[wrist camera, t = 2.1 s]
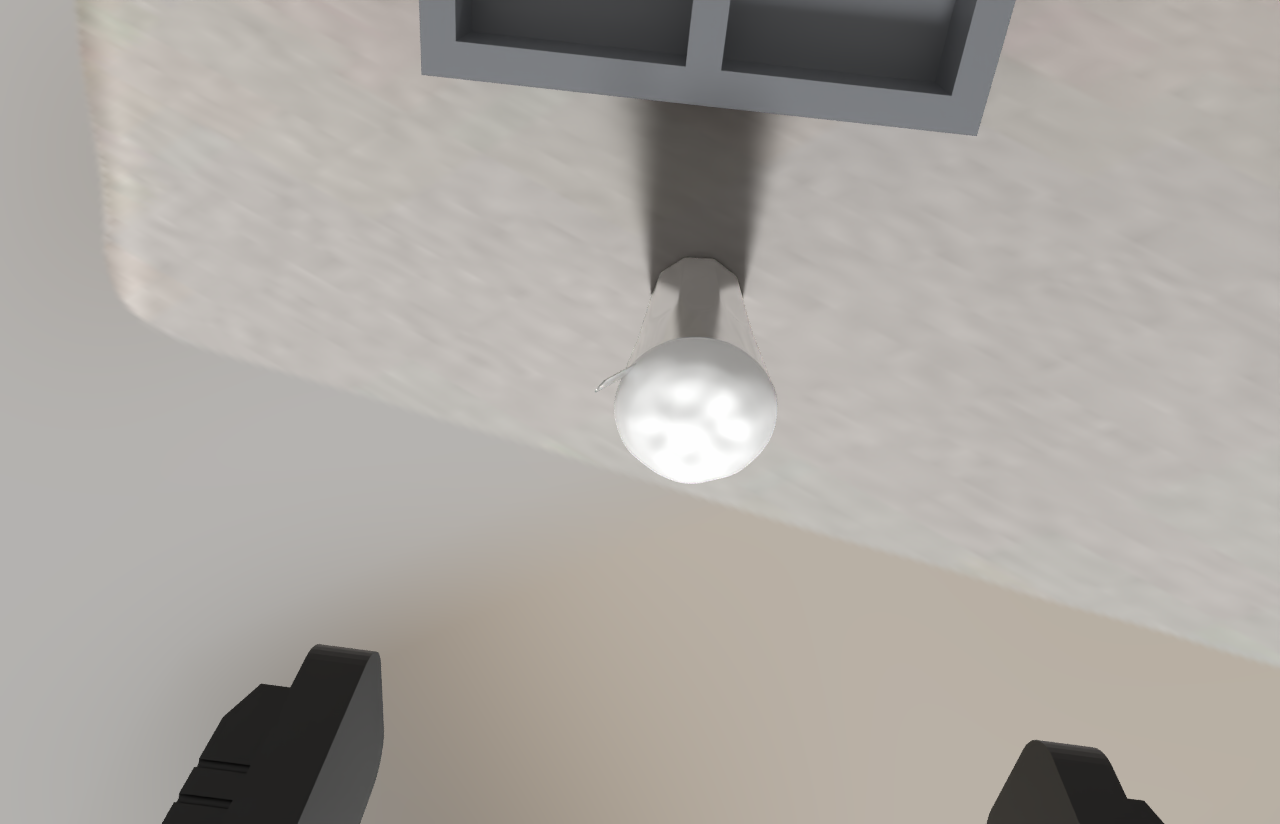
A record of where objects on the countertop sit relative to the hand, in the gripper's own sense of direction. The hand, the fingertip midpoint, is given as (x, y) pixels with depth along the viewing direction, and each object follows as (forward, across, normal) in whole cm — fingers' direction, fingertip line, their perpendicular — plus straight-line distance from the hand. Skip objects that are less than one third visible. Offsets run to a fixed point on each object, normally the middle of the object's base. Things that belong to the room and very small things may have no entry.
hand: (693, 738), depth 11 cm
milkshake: (+22, 0, +3) cm, 22 cm away
